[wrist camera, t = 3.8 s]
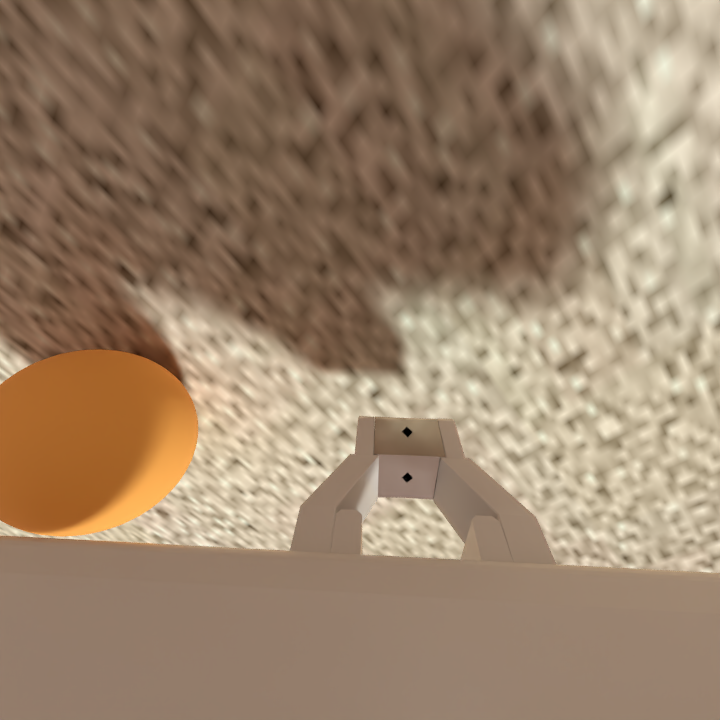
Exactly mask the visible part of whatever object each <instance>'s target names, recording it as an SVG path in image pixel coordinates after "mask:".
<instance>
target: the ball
mask: <svg viewBox="0 0 720 720" xmlns="http://www.w3.org/2000/svg"><path fill="white" fill-rule="evenodd" d="M197 438H198V420H197V414H196V410H195V407H194V404H193V401H192V399H191V397H190V395H189V394H188V392H187V390H186V389H185V387H184V386H183V385H182V383H181V382H180V381H179V380H178V379H177V378H176V377H175V376H174V375H173V374H172V373H171V372H169V371H168V370H166V369H165V368H164V367H162V366H160V365H159V364H157V363H155V362H153V361H151V360H149V359H147V358H144V357H142V356H138V355H135V354H131V353H128V352H123V351H116V350H103V349H93V350H79V351H73V352H68V353H63V354H59V355H56V356H53V357H50V358H47V359H44V360H41V361H38V362H36V363H34V364H32V365H30V366H28V367H26V368H24V369H22V370H21V371H19V372H17V373H16V374H14V375H13V376H11V377H10V378H8V379H7V380H5V381H4V382H3V383H2V384H1V385H0V520H1V521H3V522H4V523H6V524H8V525H11V526H13V527H15V528H18V529H20V530H23V531H27V532H30V533H35V534H40V535H50V536H76V535H85V534H91V533H95V532H100V531H104V530H107V529H110V528H113V527H116V526H119V525H122V524H124V523H126V522H128V521H130V520H132V519H134V518H136V517H138V516H140V515H141V514H143V513H144V512H146V511H148V510H149V509H151V508H152V507H153V506H155V505H156V504H157V503H158V502H160V501H161V500H162V499H163V498H164V497H165V496H166V495H167V494H168V493H169V492H170V491H171V490H172V489H173V488H174V487H175V486H176V485H177V483H178V482H179V481H180V479H181V478H182V476H183V475H184V473H185V471H186V470H187V468H188V466H189V464H190V462H191V460H192V457H193V454H194V451H195V448H196V444H197Z"/></svg>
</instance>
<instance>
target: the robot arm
mask: <svg viewBox="0 0 720 720" xmlns="http://www.w3.org/2000/svg"><path fill="white" fill-rule="evenodd" d="M378 497H404V498H419V499H433V501H434V502H435V504H436V505H437V507H438V508H439V509H440V511H441V512H442V513H443V515H444V516H445V517H446V519H447V520H448V522H449V523H450V524H451V526H452V527H453V528H454V530H455V531H456V533H457V534H458V535H459V537H460V538H461V539H462V541H463V542H464V543H465V546H464V549H463V553H462V556H461V560H456V559H437V558H418V557H399V556H380V555H362V522H363V521H364V519H365V518H366V516H367V515H368V513H369V512H370V510H371V509H372V507H373V505H374V504H375V502H376V501H377V499H378ZM0 720H720V573H708V572H689V571H670V570H651V569H632V568H613V567H593V566H574V565H556V562H555V560H554V558H553V555H552V553H551V551H550V549H549V546H548V544H547V542H546V539H545V537H544V535H543V532H542V530H541V528H540V525H539V523H538V521H537V518H536V517H535V516H534V515H533V514H532V513H531V512H530V511H529V510H527V509H526V508H525V507H524V506H523V505H522V504H521V503H520V502H518V501H517V500H516V499H515V498H514V497H513V496H512V495H511V494H509V493H508V492H507V491H506V490H505V489H504V488H503V487H502V486H500V485H499V484H498V483H497V482H496V481H495V480H494V479H493V478H491V477H490V476H489V475H488V474H487V473H486V472H485V471H484V470H482V469H481V468H480V467H479V466H478V465H477V464H476V463H475V462H473V461H472V460H471V459H470V458H465V456H464V452H463V449H462V445H461V442H460V438H459V435H458V431H457V428H456V424H455V421H454V420H453V419H421V418H393V417H375V429H374V417H368V416H359V418H358V425H357V436H356V447H355V454H350V455H349V456H348V457H347V458H346V459H345V460H344V461H343V462H342V463H341V464H340V465H339V466H338V467H337V469H336V470H335V471H334V472H333V473H332V474H331V475H330V476H329V477H328V478H327V479H326V480H325V481H324V482H323V483H322V484H321V485H320V486H319V487H318V488H317V489H316V490H315V491H314V492H313V494H312V495H311V496H310V497H309V498H308V499H307V500H306V501H305V502H304V503H303V504H302V505H301V506H300V510H299V515H298V519H297V523H296V527H295V531H294V535H293V540H292V544H291V548H290V551H285V550H266V549H246V548H227V547H208V546H189V545H170V544H151V543H131V542H112V541H93V540H74V539H55V538H35V537H16V536H0Z"/></svg>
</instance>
